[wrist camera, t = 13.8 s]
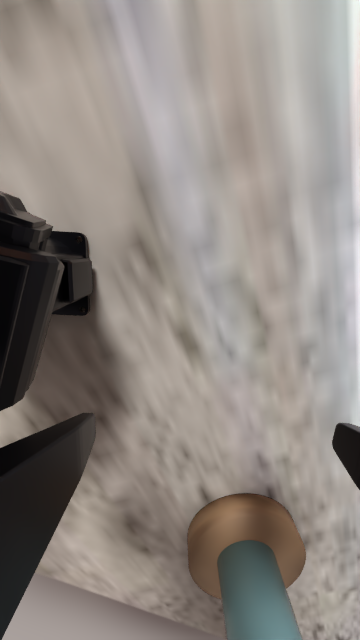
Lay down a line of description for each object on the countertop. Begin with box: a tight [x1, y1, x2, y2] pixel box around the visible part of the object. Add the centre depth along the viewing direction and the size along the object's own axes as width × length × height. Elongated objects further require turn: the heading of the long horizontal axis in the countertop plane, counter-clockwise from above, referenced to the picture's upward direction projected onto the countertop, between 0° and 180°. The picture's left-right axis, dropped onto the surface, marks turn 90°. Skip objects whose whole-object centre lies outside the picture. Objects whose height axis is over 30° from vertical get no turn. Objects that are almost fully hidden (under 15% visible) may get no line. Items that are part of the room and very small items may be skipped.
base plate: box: [188, 494, 306, 599], centre depth 27 cm, size 12×12×2 cm
